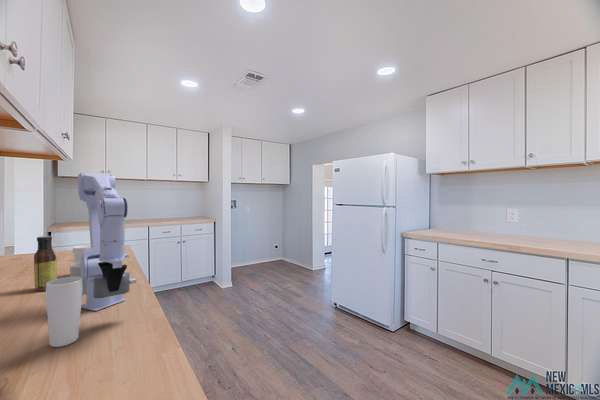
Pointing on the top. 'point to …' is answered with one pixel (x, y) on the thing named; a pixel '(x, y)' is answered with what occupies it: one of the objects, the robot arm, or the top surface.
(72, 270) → the mug
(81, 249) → the foam cup
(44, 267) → the sauce bottle
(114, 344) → the top surface
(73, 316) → the drinking glass
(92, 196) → the robot arm
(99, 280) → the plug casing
